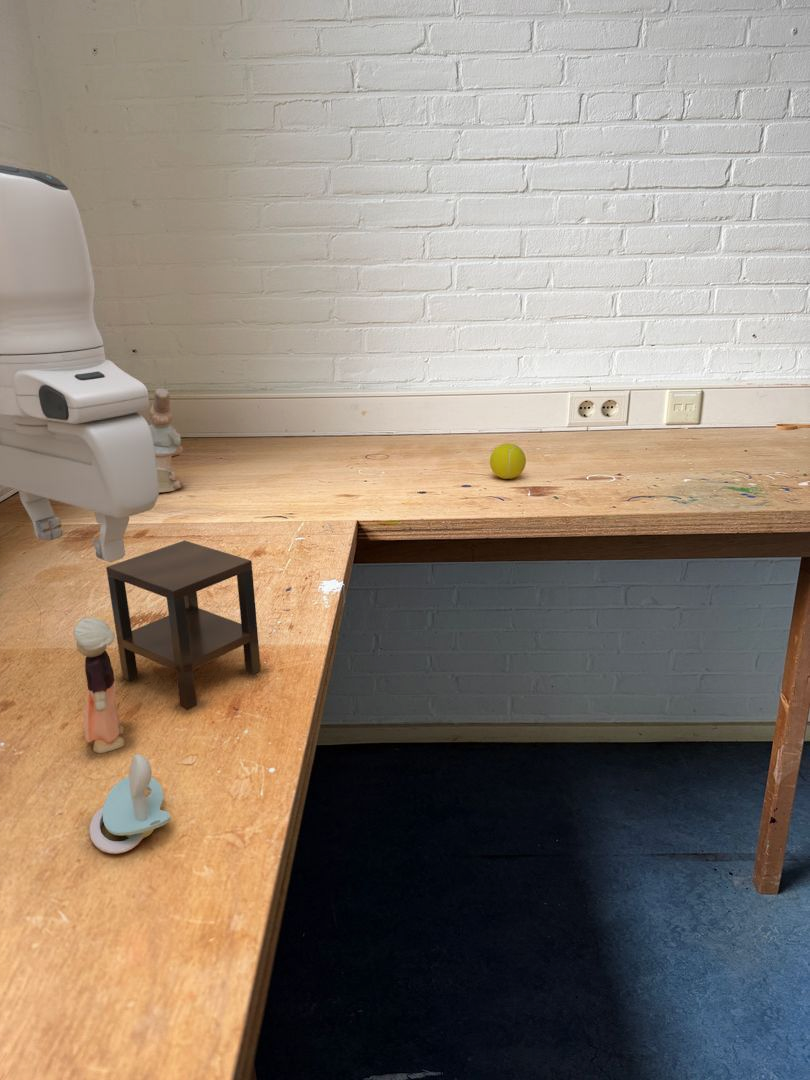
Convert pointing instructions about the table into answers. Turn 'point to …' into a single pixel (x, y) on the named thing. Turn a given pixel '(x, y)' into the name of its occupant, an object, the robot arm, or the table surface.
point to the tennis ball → (507, 461)
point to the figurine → (164, 440)
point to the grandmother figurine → (99, 685)
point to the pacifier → (130, 809)
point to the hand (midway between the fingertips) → (79, 548)
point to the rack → (183, 612)
